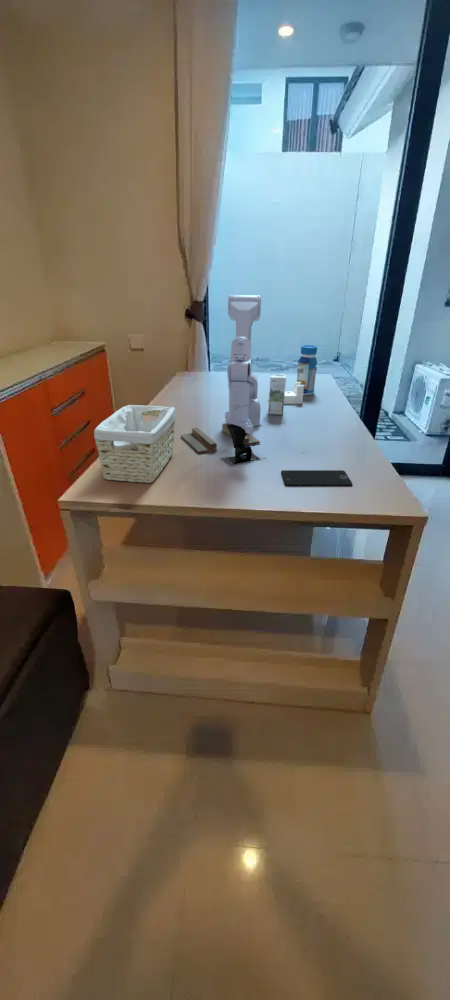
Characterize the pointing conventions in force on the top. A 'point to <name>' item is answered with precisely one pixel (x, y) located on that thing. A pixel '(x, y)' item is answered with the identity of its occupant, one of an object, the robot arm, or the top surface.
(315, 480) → the cell phone
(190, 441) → the wooden stepped rails
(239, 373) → the robot arm
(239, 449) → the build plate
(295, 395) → the bracket
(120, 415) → the storage basket
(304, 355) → the beverage bottle
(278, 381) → the syrup box
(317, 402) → the top surface
